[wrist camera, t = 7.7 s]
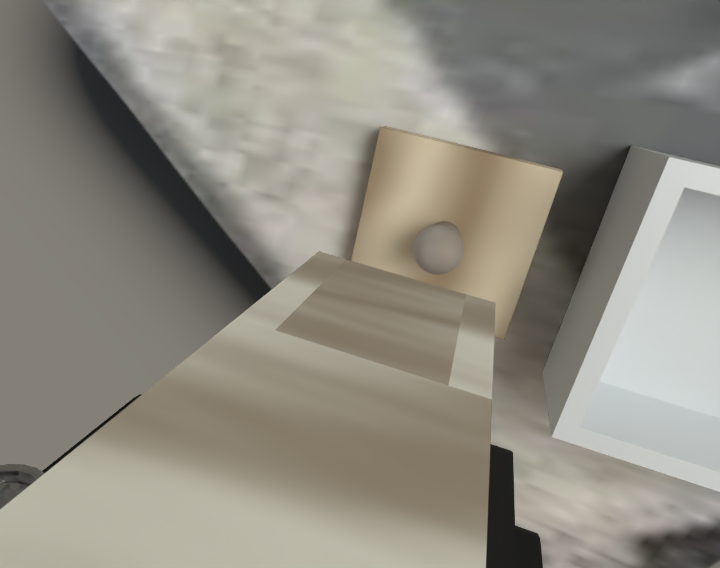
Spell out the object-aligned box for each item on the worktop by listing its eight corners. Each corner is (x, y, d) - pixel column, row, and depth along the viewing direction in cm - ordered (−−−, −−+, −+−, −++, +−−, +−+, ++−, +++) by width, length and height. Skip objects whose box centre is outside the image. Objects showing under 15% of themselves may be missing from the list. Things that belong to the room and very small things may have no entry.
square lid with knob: (350, 283, 34) (322, 316, 29) (385, 126, 31) (361, 130, 25) (504, 329, 33) (504, 373, 27) (560, 168, 29) (573, 182, 24)
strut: (318, 251, 15) (-428, 855, 3) (495, 302, 14) (454, 1412, 2) (290, 399, 17) (-243, 1144, 5) (445, 452, 16) (271, 1503, 4)
